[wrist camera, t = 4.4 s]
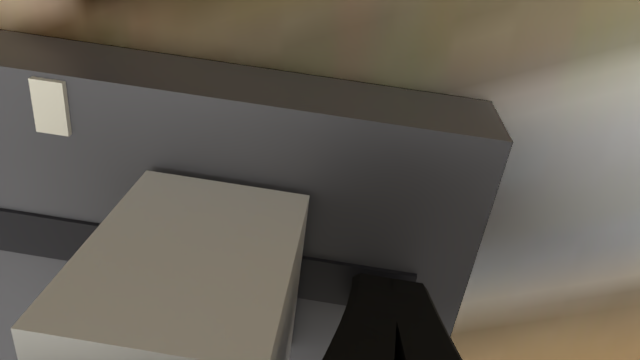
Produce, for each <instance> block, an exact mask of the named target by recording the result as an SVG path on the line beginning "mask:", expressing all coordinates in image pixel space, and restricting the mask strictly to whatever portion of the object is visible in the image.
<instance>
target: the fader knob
mask: <svg viewBox="0 0 640 360" xmlns="http://www.w3.org/2000/svg"><path fill="white" fill-rule="evenodd" d="M309 198H310V195H304V194H297V193H291V192H284V191H278V190H271V189H265V188H258V187H252V186H245V185H239V184H232V183H226V182H219V181H213V180H206V179H200V178H193V177H187V176H180V175H174V174H167V173H161V172H154V171H148V170H146V171H145V173H144V174H143V175H142V176H141V177H140V178H139V180H138V181H137V182H136V183H135V184H134V185H133V187H132V188H131V189H130V190H129V191H128V192H127V194H126V195H125V196H124V197H123V198H122V199H121V200H120V202H119V203H118V204H117V205H116V206H115V207H114V209H113V210H112V211H111V212H110V213H109V214H108V216H107V217H106V218H105V219H104V220H103V221H102V223H101V224H100V225H99V226H98V227H97V228H96V230H95V231H94V232H93V233H92V234H91V235H90V237H89V238H88V239H87V240H86V241H85V242H84V243H83V245H82V246H81V247H80V248H79V249H78V250H77V252H76V253H75V254H74V255H73V256H72V257H71V259H70V260H69V261H68V262H67V263H66V264H65V266H64V267H63V268H62V269H61V270H60V271H59V273H58V274H57V275H56V276H55V277H54V278H53V280H52V281H51V282H50V283H49V284H48V285H47V287H46V288H45V289H44V290H43V291H42V292H41V293H40V295H39V296H38V297H37V298H36V299H35V300H34V302H33V303H32V304H31V305H30V306H29V307H28V309H27V310H26V311H25V312H24V313H23V314H22V316H21V317H20V318H19V319H18V320H17V321H16V323H15V324H14V325H13V326H12V327H11V332H12V337H13V341H14V345H15V350H16V354H17V359H18V360H289V357H290V350H291V342H292V334H293V326H294V318H295V310H296V302H297V294H298V286H299V278H300V270H301V262H302V254H303V246H304V238H305V230H306V222H307V214H308V206H309Z"/></svg>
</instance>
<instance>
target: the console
mask: <svg viewBox="0 0 640 360" xmlns="http://www.w3.org/2000/svg"><path fill="white" fill-rule="evenodd" d="M512 144H513V141H512V139H511V137H510V136H509V134H508V132H507V130H506V128H505V126H504V124H503V122H502V121H501V119H500V117H499V115H498V113H497V111H496V109H495V107H494V105H493V104H492V102H491V101H485V100H478V99H471V98H465V97H458V96H451V95H444V94H437V93H430V92H423V91H416V90H410V89H403V88H396V87H389V86H382V85H375V84H368V83H362V82H355V81H348V80H341V79H334V78H327V77H320V76H314V75H307V74H300V73H293V72H286V71H279V70H272V69H266V68H259V67H252V66H245V65H238V64H231V63H224V62H218V61H211V60H204V59H197V58H190V57H183V56H176V55H170V54H163V53H156V52H149V51H142V50H135V49H128V48H122V47H115V46H108V45H101V44H94V43H87V42H80V41H74V40H67V39H60V38H53V37H46V36H39V35H32V34H26V33H19V32H12V31H5V30H0V360H18V359H17V354H16V350H15V345H14V341H13V337H12V332H11V327H12V326H13V325H14V324H15V323H16V321H17V320H18V319H19V318H20V317H21V316H22V314H23V313H24V312H25V311H26V310H27V309H28V307H29V306H30V305H31V304H32V303H33V302H34V300H35V299H36V298H37V297H38V296H39V295H40V293H41V292H42V291H43V290H44V289H45V288H46V287H47V285H48V284H49V283H50V282H51V281H52V280H53V278H54V277H55V276H56V275H57V274H58V273H59V271H60V270H61V269H62V268H63V267H64V266H65V264H66V263H67V262H68V261H69V260H70V259H71V257H72V256H73V255H74V254H75V253H76V252H77V250H78V249H79V248H80V247H81V246H82V245H83V243H84V242H85V241H86V240H87V239H88V238H89V237H90V235H91V234H92V233H93V232H94V231H95V230H96V228H97V227H98V226H99V225H100V224H101V223H102V221H103V220H104V219H105V218H106V217H107V216H108V214H109V213H110V212H111V211H112V210H113V209H114V207H115V206H116V205H117V204H118V203H119V202H120V200H121V199H122V198H123V197H124V196H125V195H126V194H127V192H128V191H129V190H130V189H131V188H132V187H133V185H134V184H135V183H136V182H137V181H138V180H139V178H140V177H141V176H142V175H143V174H144V173H145V171H146V170H148V171H154V172H161V173H167V174H174V175H180V176H187V177H193V178H200V179H206V180H213V181H219V182H226V183H232V184H239V185H245V186H252V187H258V188H265V189H271V190H278V191H284V192H291V193H297V194H304V195H310V198H309V206H308V214H307V222H306V230H305V238H304V246H303V254H302V262H301V270H300V278H299V286H298V294H297V302H296V310H295V318H294V326H293V334H292V342H291V350H290V357H289V360H322V359H323V357H324V355H325V353H326V351H327V349H328V347H329V345H330V343H331V341H332V338H333V336H334V334H335V332H336V330H337V328H338V326H339V324H340V321H341V319H342V316H343V313H344V311H345V308H346V305H347V302H348V298H349V293H350V288H351V283H352V277H354V276H355V275H357V274H359V273H362V274H368V275H375V276H381V277H387V278H393V279H399V280H406V281H412V282H418V283H423V284H424V286H425V287H426V288H427V290H428V292H429V294H430V297H431V299H432V301H433V303H434V305H435V307H436V310H437V312H438V314H439V316H440V318H441V320H442V322H443V324H444V326H445V328H446V330H447V332H448V334H449V336H451V333H452V330H453V327H454V324H455V321H456V318H457V315H458V311H459V308H460V305H461V302H462V299H463V296H464V293H465V290H466V287H467V284H468V280H469V277H470V274H471V271H472V268H473V265H474V262H475V259H476V256H477V252H478V249H479V246H480V243H481V240H482V237H483V234H484V231H485V228H486V225H487V221H488V218H489V215H490V212H491V209H492V206H493V203H494V200H495V197H496V193H497V190H498V187H499V184H500V181H501V178H502V175H503V172H504V169H505V166H506V162H507V159H508V156H509V153H510V150H511V147H512Z"/></svg>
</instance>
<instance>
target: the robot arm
mask: <svg viewBox="0 0 640 360" xmlns="http://www.w3.org/2000/svg"><path fill="white" fill-rule="evenodd" d="M322 360H462V358H461V356H460V355H459V353H458V351H457V349H456V347H455V345H454V343H453V342H452V340H451V338H450V336H449V334H448V332H447V330H446V328H445V326H444V324H443V322H442V320H441V318H440V316H439V314H438V312H437V310H436V307H435V305H434V303H433V301H432V299H431V297H430V294H429V292H428V290H427V288H426V287H425V286H424V284H423V283H418V282H412V281H406V280H399V279H393V278H387V277H381V276H375V275H368V274H362V273H359V274H357V275H355V276H354V277H352V283H351V288H350V293H349V298H348V302H347V305H346V308H345V311H344V313H343V316H342V319H341V321H340V324H339V326H338V328H337V330H336V332H335V334H334V336H333V338H332V341H331V343H330V345H329V347H328V349H327V351H326V353H325V355H324V357H323V359H322Z"/></svg>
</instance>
